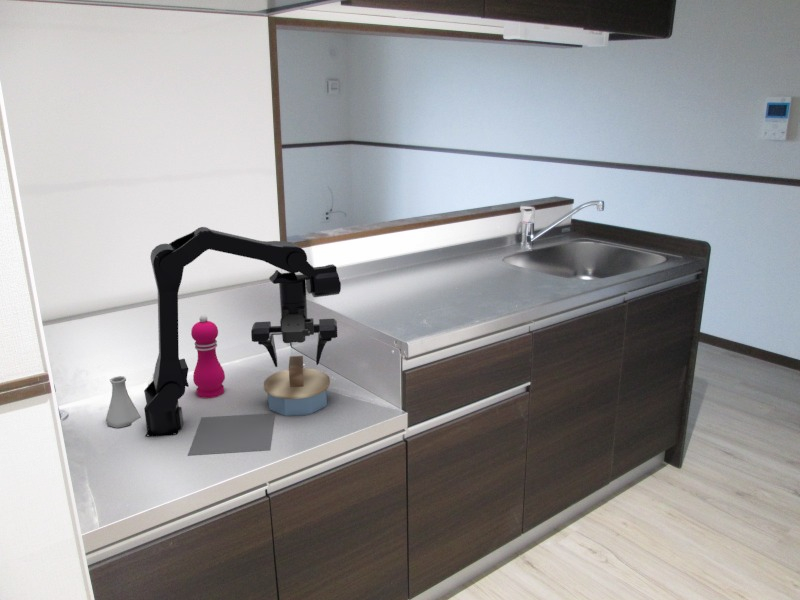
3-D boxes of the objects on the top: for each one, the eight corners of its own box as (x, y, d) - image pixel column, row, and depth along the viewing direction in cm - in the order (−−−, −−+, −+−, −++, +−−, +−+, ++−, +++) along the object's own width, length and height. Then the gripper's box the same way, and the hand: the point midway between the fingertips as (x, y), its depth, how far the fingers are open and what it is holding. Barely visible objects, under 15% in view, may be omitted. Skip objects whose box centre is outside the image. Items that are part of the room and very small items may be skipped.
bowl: (267, 419, 141) (266, 398, 139) (271, 393, 153) (270, 374, 151) (327, 415, 142) (326, 395, 141) (326, 390, 155) (325, 371, 153)
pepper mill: (232, 392, 154) (225, 313, 148) (209, 403, 148) (201, 322, 142) (212, 385, 157) (204, 308, 151) (188, 396, 152) (179, 316, 146)
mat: (187, 458, 125) (187, 455, 125) (201, 419, 140) (201, 417, 140) (270, 452, 127) (270, 450, 127) (275, 415, 142) (275, 413, 142)
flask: (130, 409, 145) (125, 369, 142) (147, 419, 141) (142, 377, 138) (99, 421, 140) (93, 379, 137) (116, 432, 135) (109, 389, 132)
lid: (261, 400, 138) (259, 376, 136) (266, 373, 152) (264, 350, 150) (330, 396, 140) (329, 372, 138) (329, 369, 154) (328, 347, 152)
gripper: (246, 313, 131) (251, 382, 136) (337, 309, 134) (339, 377, 138) (251, 297, 142) (256, 362, 147) (335, 294, 144) (337, 358, 149)
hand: (297, 365), depth 145 cm, fingers open, 9 cm apart
